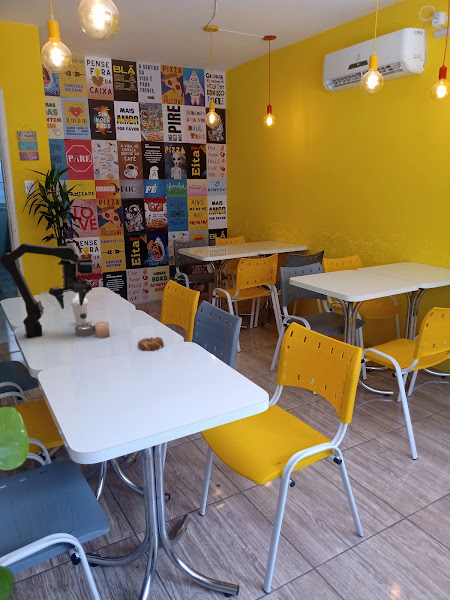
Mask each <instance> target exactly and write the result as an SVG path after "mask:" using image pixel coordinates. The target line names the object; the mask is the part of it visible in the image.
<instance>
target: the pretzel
mask: <svg viewBox="0 0 450 600" xmlns="http://www.w3.org/2000/svg"><path fill="white" fill-rule="evenodd" d="M160 346H162V347H163V346H164V340H163V339H162V337H160V336H155V337H149V338H148V337H145V338H142V339H140V340H139V341H138V342H137V347H138V348H139V350H141V351H145V350H147V351H156V350H155V349H157V350H159V349H160V348H159V347H160ZM158 348H159V349H158Z"/></svg>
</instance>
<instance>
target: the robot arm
mask: <svg viewBox="0 0 450 600" xmlns="http://www.w3.org/2000/svg"><path fill="white" fill-rule="evenodd" d="M26 253H28V254H36V255H42V256H43V255H45V256H53V257H56V258H59V259H60V261H59V262H58V263H57V265H58V266H60V265H61V266H62V270H63V271H62V272H63V273H62V274H63V275H62V276H61V277H62V278H61V279H63V284H62V287H59V286H55V287H50V288H49V290H48V294H49V295H51V296H53V297H54V298H55V299H56V300H57V302H58V304H59V306H60V308H61V309H62V310H65V303H64V301H65V300H64V298H65V294H64V293H67V292H73V293H75V294H76V293H77V294H79V302H80V306H82V304H83V301H84V298H86V296H87V294H89V293H90V292H91V291H92V290H93V285H92V284H90V283H88V281H87V280H86V279H85V280H80V278H79V276H78V275H77V274H78V273H79V274H80V275H87V274H88V275H91V274H92V275H93V274H94V265H93V263H94V262H93V258H88V259H87V258H85V259H81V258H80V256H79V255H78V253H77V250H76V249H75V247H73V246H72V245H64V246H63V245H62V246H61V245H60V246H51V245H43V244H42V245H41V244H33V243H28V242H24V243H21V244H20V245H19V246H18V247H17V248H16V249H14V250H12V251H11V252H7V253H5V254H4V255H2V256H1V257H0V263H1V264H0V265H2V267H3V268H4V269H5V271H7V273H8V274H9V275H10V276H11V278H12V280H13V281H14V283H15V286H16V288H17V290H18V292H19V293H20V296H21V298H22V301H23V302H24V305H25V311H26V315H27V316H26V317H25V318H24V320H23V321H22V323H23V327H24V336H25V338H27V339H30V338H36V337H37V338H38V337H42V336H43V325H42V324H41V322H40V319H41V318H42V316H43V315H44V312H45V311H44V309H45V307H44V305H43V304H42V301H41V300H38V301H37V300H36V299H35V297H34V296H33V293H32V290H31V289H30V288H29V287H30V286H29V285H28V283H27V281H26V279H25V277H24V275H23V273H22V270H21V263H20V260H19V259H20V258H21V257H22V256H24V255H25V254H26Z"/></svg>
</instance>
